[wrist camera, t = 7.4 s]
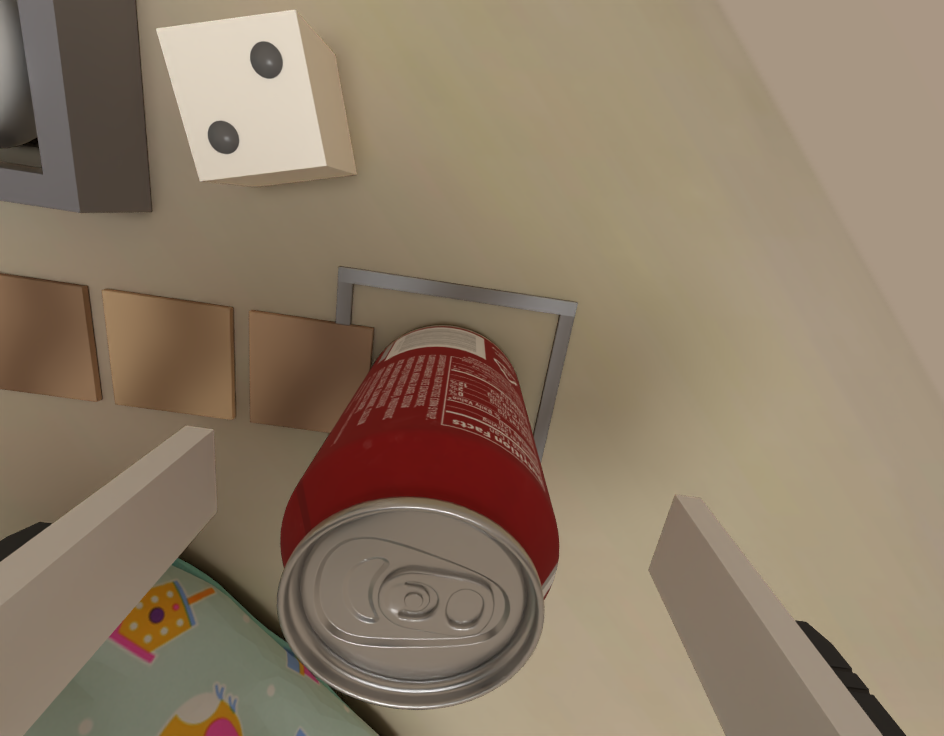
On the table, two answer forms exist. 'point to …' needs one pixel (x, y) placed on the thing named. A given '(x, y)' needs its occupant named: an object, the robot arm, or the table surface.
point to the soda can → (421, 531)
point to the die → (259, 100)
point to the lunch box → (195, 674)
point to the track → (221, 349)
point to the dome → (14, 81)
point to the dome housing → (83, 109)
